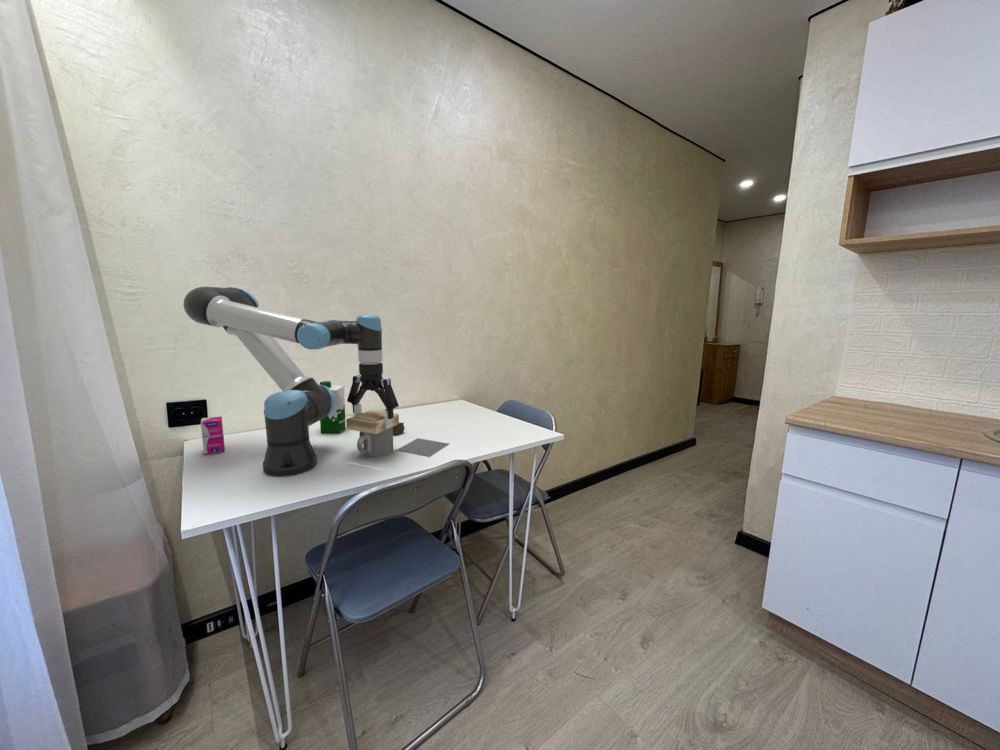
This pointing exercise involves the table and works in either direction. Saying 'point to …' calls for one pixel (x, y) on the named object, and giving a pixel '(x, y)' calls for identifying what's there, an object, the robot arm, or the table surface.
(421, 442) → the mat
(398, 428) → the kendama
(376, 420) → the lid
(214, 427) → the supplement box
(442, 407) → the table surface
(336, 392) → the milk carton
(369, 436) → the coffee mug
